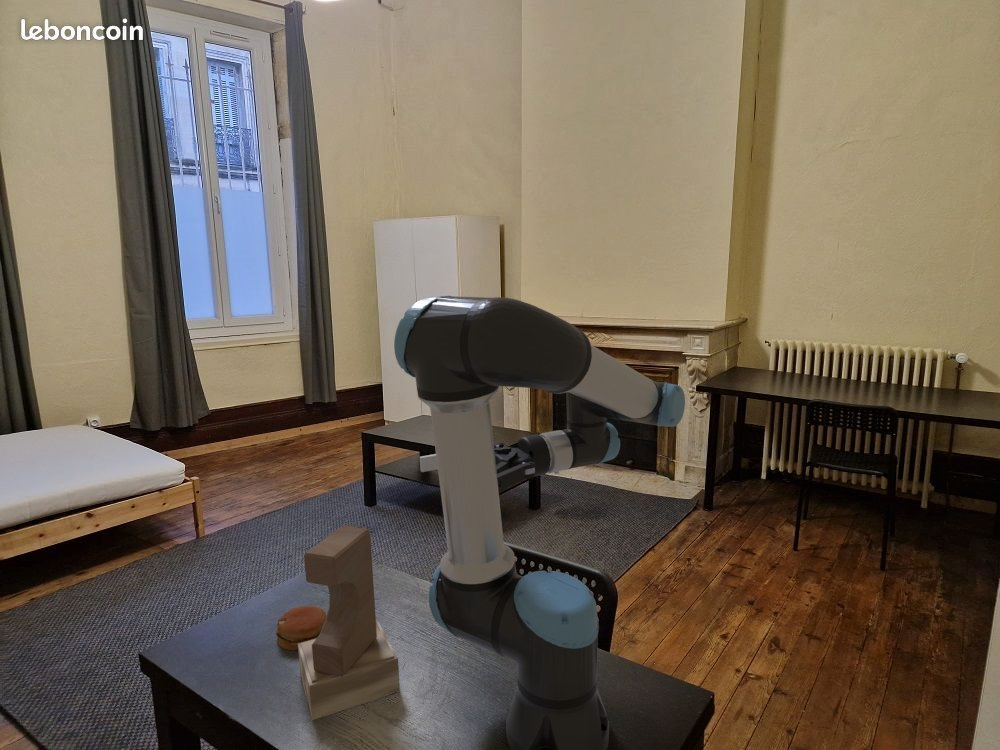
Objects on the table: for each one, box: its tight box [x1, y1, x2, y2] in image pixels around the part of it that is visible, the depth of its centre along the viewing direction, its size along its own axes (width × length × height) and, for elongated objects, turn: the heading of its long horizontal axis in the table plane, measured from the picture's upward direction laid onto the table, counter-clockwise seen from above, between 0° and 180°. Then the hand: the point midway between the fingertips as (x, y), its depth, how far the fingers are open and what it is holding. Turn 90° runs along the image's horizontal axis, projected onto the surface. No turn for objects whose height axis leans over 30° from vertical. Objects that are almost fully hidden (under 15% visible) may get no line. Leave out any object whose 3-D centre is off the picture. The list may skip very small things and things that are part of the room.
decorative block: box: [303, 525, 377, 677], centre depth 99 cm, size 11×6×20 cm, turn 161°
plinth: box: [297, 621, 401, 721], centre depth 103 cm, size 12×14×6 cm
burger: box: [275, 605, 327, 651], centre depth 117 cm, size 10×9×5 cm
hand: (431, 475), depth 105 cm, fingers open, 12 cm apart
